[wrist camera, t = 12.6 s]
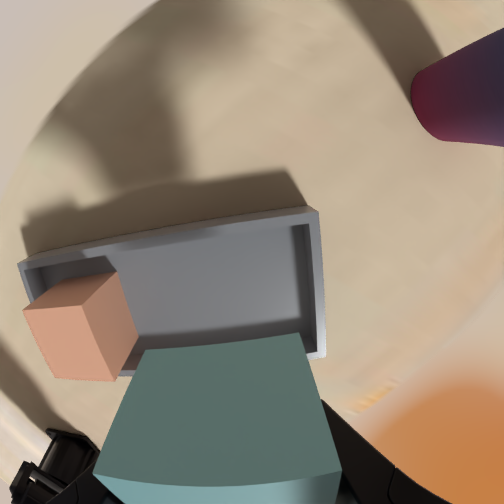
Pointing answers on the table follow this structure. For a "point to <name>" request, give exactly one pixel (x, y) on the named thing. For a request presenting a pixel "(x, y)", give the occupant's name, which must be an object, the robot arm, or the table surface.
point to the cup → (464, 94)
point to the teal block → (222, 428)
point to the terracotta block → (83, 327)
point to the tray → (206, 280)
